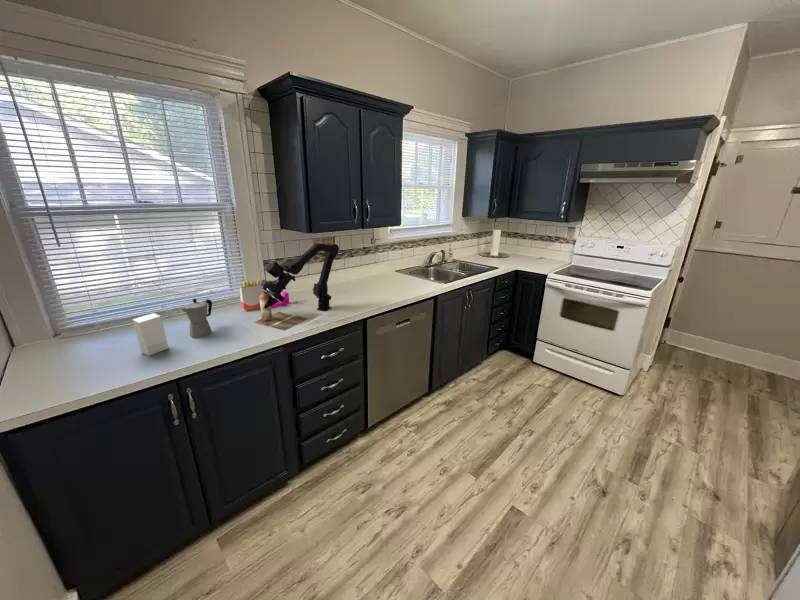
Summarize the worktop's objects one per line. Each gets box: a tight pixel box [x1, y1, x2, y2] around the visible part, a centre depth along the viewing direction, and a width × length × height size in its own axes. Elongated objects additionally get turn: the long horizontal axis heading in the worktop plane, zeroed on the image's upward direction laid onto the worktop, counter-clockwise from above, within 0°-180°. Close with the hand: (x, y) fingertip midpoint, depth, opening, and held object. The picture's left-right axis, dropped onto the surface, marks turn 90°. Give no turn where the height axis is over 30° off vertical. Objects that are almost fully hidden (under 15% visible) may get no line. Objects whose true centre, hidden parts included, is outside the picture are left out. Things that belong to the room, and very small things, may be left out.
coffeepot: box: [182, 298, 213, 339], centre depth 155 cm, size 15×9×18 cm, turn 162°
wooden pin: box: [259, 292, 273, 320], centre depth 170 cm, size 5×5×14 cm
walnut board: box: [252, 311, 310, 332], centre depth 172 cm, size 18×22×1 cm
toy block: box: [271, 291, 291, 309], centre depth 194 cm, size 15×6×8 cm, turn 132°
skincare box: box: [132, 313, 169, 356], centre depth 138 cm, size 8×7×16 cm
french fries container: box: [239, 279, 263, 312], centre depth 186 cm, size 5×11×18 cm, turn 135°
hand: (262, 306), depth 169 cm, fingers closed on wooden pin, 5 cm apart
